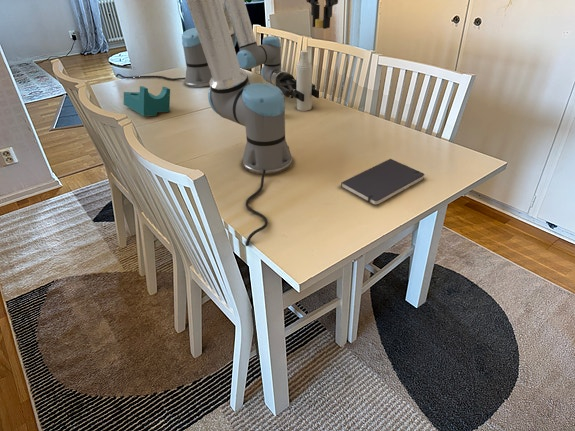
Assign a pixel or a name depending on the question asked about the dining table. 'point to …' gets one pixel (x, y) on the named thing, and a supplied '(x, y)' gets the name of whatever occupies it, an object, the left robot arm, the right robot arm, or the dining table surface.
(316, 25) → the cap
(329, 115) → the dining table surface
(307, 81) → the bottle
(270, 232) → the dining table surface
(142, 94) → the teal notched cradle block
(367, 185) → the notebook
